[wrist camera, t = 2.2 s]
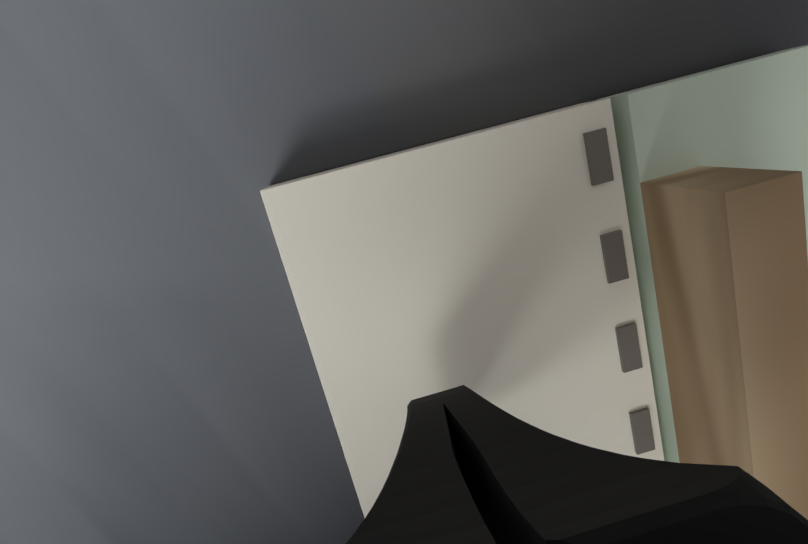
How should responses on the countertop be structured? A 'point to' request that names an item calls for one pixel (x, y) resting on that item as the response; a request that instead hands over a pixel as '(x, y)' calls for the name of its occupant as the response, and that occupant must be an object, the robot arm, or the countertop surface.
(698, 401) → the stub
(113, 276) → the countertop surface
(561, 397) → the block
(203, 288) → the countertop surface
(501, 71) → the countertop surface
